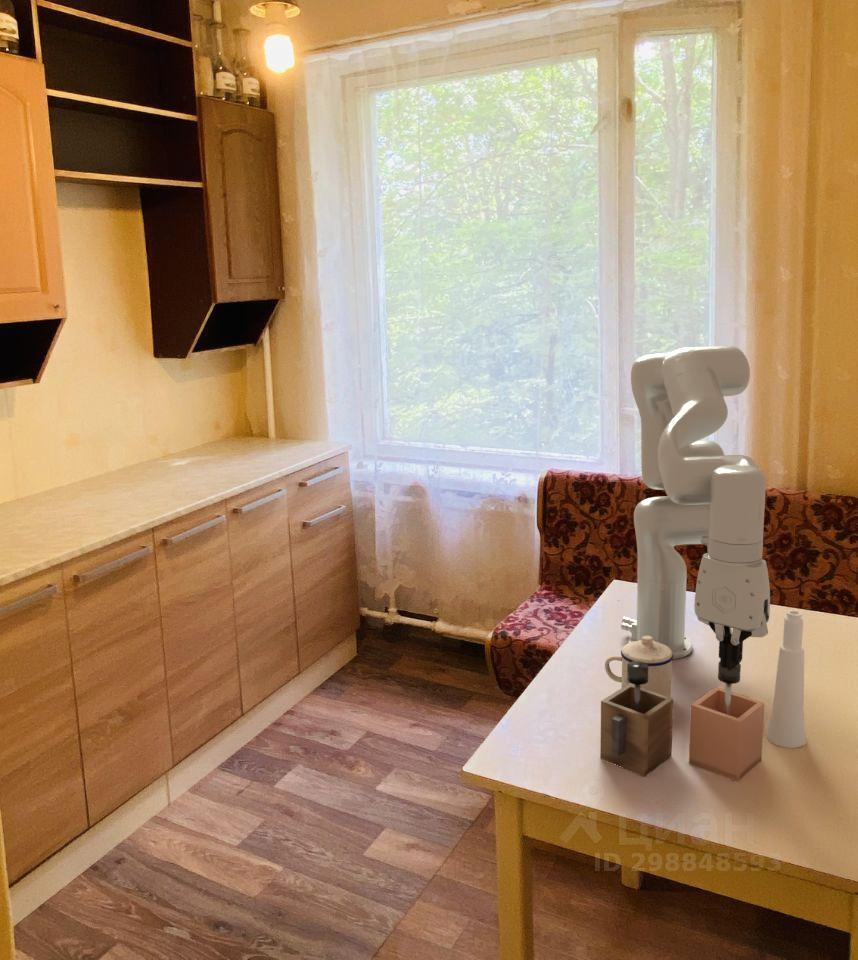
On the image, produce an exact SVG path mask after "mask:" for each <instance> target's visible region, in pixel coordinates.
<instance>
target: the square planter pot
mask: <svg viewBox="0 0 858 960" xmlns="http://www.w3.org/2000/svg"><path fill="white" fill-rule="evenodd" d="M765 706H766V705H765V702H764V701H760V700H758V699H754V698H751V697H749V696H746V695H745V694H744V695H743V694H739V693H736V692H734V691H731V712H730V715H727V714H724V708H725V689H724V688H720V687H718V686H715V687H714V688H713V689H711V690H709V692H707V693H706V694H704V695H703V696H701V697H700V698H699V699H697V700H696V701H694V702H693V703H691V704H690V717H689V718H690V722H689V747H688V748H689V749H688V750H689V751H688V764H690V765H692V766H694V767H698V768H700V769H702V770H704V771H707V772H710V773H712V774H715V775H717V776H719V777H723V778H725V779H728V780H730V781H731V782H736V783H739V782H740V781H741V780H742V779H743V778H744V777H745V776H747V774H749V773H750V772H751V771H752V770H753V769H754V768H755V767H756V766H757V765H758V764H760V763H761V762H762V756H763V755H762V753H763V738H764V721H765V718H764V717H765Z"/></svg>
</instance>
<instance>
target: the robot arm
mask: <svg viewBox="0 0 858 960" xmlns="http://www.w3.org/2000/svg"><path fill="white" fill-rule="evenodd" d="M749 364H750V363H749V361H748V358H747V356H746V355H745V353H744V351H742V350H741V349H740V348H738V347H736V346H733V345H721V346H720V345H719V346H718V345H715V346H714V345H713V346H690V347H682V348H678V349H676V350H673V351H671V352H661V353H653V354H646V355H643V356H641V357H639V358H637V359H636V360H635V361H634V362H633V363H632V367H631V370H630V384H631V391H632V394H633V398H634V401H635V404H636V406H637V409H638V413H639V417H640V424H641V425H640V426H641V428H640V431H641V432H640V433H641V434H640V435H641V436H640V437H641V438H640V453H641V455H640V458H641V462H640V463H641V464H640V465H641V466H640V467H641V476H642V480H643V481H642V482H643V483H644V486H645V485H646V487H647V488H650V489H652V490H661V491H665V494H666V496H663V495H662V496H652V497H648V498H645V499H642V500H641V501H639V502H638V503H637V505H635V508H634V510H633V524H634V525H633V526H634V530H635V537H636V538H635V541H636V549H637V552H636V553H637V554H636V555H637V572H636V573H637V580H636V581H637V582H636V583H637V586H636V587H637V588H636V589H637V590H636V619H634V618H632V617H629V616H623V618H622V621H621V626H620V628H621V630H624V631H628V632H630V633H631V635H630V636H629V637H628V640H627V641H628V642H627V643H630V642H633V641H639V640H641V638H642V637H643V636H651V637H652V638H653V641H655V642H658V643H662V644H664V645H666V646H667V647H669V648H670V649H671V651H672V653H673V659H672V660H675V659H680V658H683V657H686V656H687V655H690V653H692V650H693V642H692V641H691V640H690V639H689V638H688V637H687V636H686V634H685V633H686V632H685V631H686V629H685V628H686V607H687V606H686V604H687V603H686V602H687V600H686V598H687V575H688V574H687V573H688V572H687V564H686V562H685V560H684V558H683V557H682V556H681V554H680V553H679V551H677V550H676V549H675V546H682V545H704V546H706V547H707V551H706V553H704V554H702V556H701V557H702V558H701V561H700V565H699V570H698V573H697V579H696V586H695V591H694V592H695V593H694V594H695V595H694V604H693V605H694V606H693V607H694V608H693V609H694V614H695V616H696V618H697V620H698V621H699V622H702V623H703V624H705V625H707V626H709V627H710V629H711V630H712V631H713V633H714V634H715V639H716V641H718V658H719V659H720V660H719V662H720V666H722V667H727V668H728V669H732V668H733V667H735V666H736V665H738V664H739V663H740V664H741V662H742V660H743V651H744V650H743V649H744V641H745V640H747V639H749V638H750V637H751V638H764V637H766V636H767V635H768V634H769V631H768V630H769V629H768V622H769V619H770V614H771V611H770V610H771V587H770V578H769V577H770V576H769V570H768V566H767V561H766V560H765V559H763V549H764V547H763V544H764V528H765V527H764V523H765V505H766V486H767V481H766V480H767V479H766V475H765V473H764V471H763V470H762V469H761V468H759V466H758V465H757V464H756V462H755V460H753V459H752V457H750V456H747V455H743V454H729V455H728V454H726V455H725V453H724V450H723V448H722V447H721V445H720V444H718V443H717V442H715V441H713V440H703V439H704V438H706V437H709V436H711V435H713V434H714V433H716V432H717V431H718V430H720V429H721V428H722V427H723V426H724V425H725V422H726V421H727V418H728V414H729V412H728V411H729V410H728V406H727V403H726V401H725V398H724V397H733V396H738V395H740V394H742V393H743V392H744V391H745V390H746V389H747V387H748V386H749V381H750V377H751V376H750V375H751V369H750V365H749Z"/></svg>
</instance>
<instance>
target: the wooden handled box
mask: <svg viewBox="0 0 858 960" xmlns="http://www.w3.org/2000/svg"><path fill="white" fill-rule="evenodd" d="M634 688H635V685H632V684H628V685H626V686H624V687H623V688H622V687H621V688H619V689H618V690H616V691H615V692H613V693H611V694H610V695H609V696H606V697H605V698H604V699H602V700H601V701H600V751H599V752H600V756H599V758H601V759H600V760H603V761H605V762H607V761H608V763H610V764H612V763H613V764H612V765H614V764H616V765H615V766H617V765H618V766H617V767H619V766H621V767H623V768H622V769H624V770H626V769H627V771H628V770H629V771H628V772H631V771H632V772H631V773H633V774H635V773H636V774H635V775H638V776H640V777H643V778H646V777H647V776H648V775H650V774H651V773H652V772H653V771H655V770H656V769H657V768H658V767H660V766H661V765H663V764H665V762H666V761H667V760H669V759H670V758H672V757H673V754H672V752H673V730H674V729H673V727H674V725H673V723H674V698H672V697H671V698H670V697H667V696H664V695H661V694H658V693H655V692H652V691H650V690H647V689H644V688H641V687H640V712H637V711H634ZM621 767H620V768H621Z"/></svg>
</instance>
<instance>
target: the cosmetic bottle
mask: <svg viewBox="0 0 858 960" xmlns="http://www.w3.org/2000/svg"><path fill="white" fill-rule="evenodd" d="M802 616H803V613H802V612H801V611H798V610H793V609H792V610H791V609H790V610H787V611H786V616H785V618H784V620H783V621H784V622H783V635H782V636H783V637H782V643H781V644H780V645H779V651H778V658H777V659H778V660H777V667H776V668H777V669H776V675H775V685H774V693H773V700H772V708H771V712H770V713H771V714H770V719H769V722H768V727H767V731H766V734H765V736H766V738H767V740H768V741H769V742H771V744H774V745H777V746H779V747H782V748H786V749H797V748H801V747H803V746H805V745H806V743H807V736H806V727H805V707H804V706H805V705H804V703H805V699H804V697H805V696H804V695H805V694H804V693H805V648H804V647H803V646H802V645H803V631H804V619H803V618H802Z"/></svg>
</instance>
